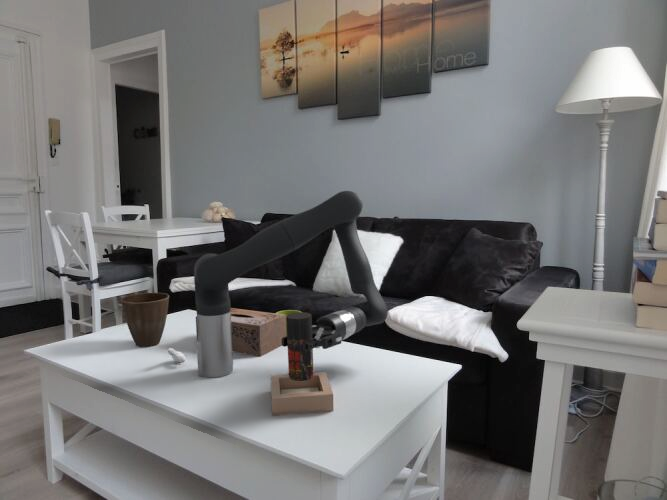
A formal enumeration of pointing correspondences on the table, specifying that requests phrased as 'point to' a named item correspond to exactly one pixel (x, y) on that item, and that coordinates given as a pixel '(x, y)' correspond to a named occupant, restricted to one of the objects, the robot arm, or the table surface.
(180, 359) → the rabbit figurine
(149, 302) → the plant pot
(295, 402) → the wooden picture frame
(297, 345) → the deodorant
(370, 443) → the table surface
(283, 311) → the plant pot
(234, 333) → the tissue box cover
